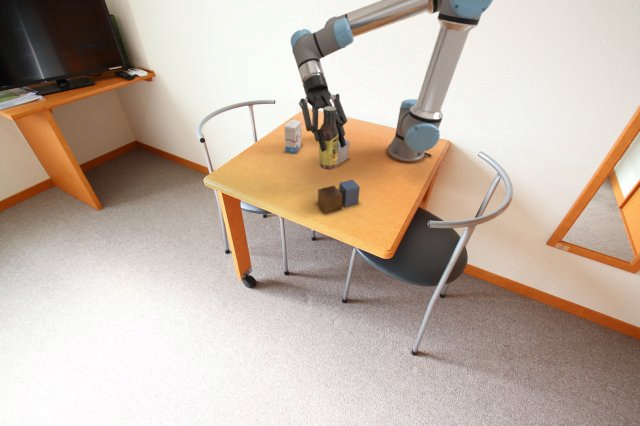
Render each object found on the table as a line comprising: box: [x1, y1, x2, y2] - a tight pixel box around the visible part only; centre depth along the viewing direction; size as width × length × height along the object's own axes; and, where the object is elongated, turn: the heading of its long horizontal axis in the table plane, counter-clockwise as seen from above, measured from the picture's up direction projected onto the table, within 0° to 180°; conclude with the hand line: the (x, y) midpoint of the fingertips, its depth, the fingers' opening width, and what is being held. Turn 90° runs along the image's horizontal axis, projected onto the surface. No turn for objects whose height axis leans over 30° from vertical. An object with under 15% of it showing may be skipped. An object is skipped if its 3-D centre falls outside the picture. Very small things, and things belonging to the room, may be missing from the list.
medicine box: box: [337, 138, 350, 166], centre depth 125 cm, size 8×4×9 cm, turn 140°
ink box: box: [284, 119, 302, 154], centre depth 132 cm, size 9×5×12 cm, turn 164°
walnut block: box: [317, 185, 343, 215], centre depth 101 cm, size 6×6×6 cm
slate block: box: [338, 179, 361, 208], centre depth 104 cm, size 5×5×7 cm
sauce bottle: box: [318, 105, 339, 171], centre depth 98 cm, size 7×6×20 cm
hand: (333, 148), depth 97 cm, fingers closed on sauce bottle, 6 cm apart
